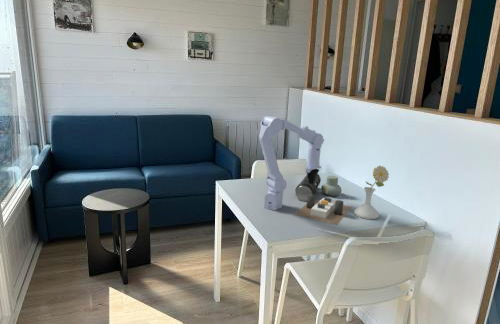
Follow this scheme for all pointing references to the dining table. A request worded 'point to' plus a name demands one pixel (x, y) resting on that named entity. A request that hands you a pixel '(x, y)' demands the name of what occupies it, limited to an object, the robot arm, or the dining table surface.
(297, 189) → the muzzle brake
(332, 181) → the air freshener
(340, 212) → the post
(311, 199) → the post
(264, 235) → the dining table surface
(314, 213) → the breaker panel
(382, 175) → the flower in vase
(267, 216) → the dining table surface
